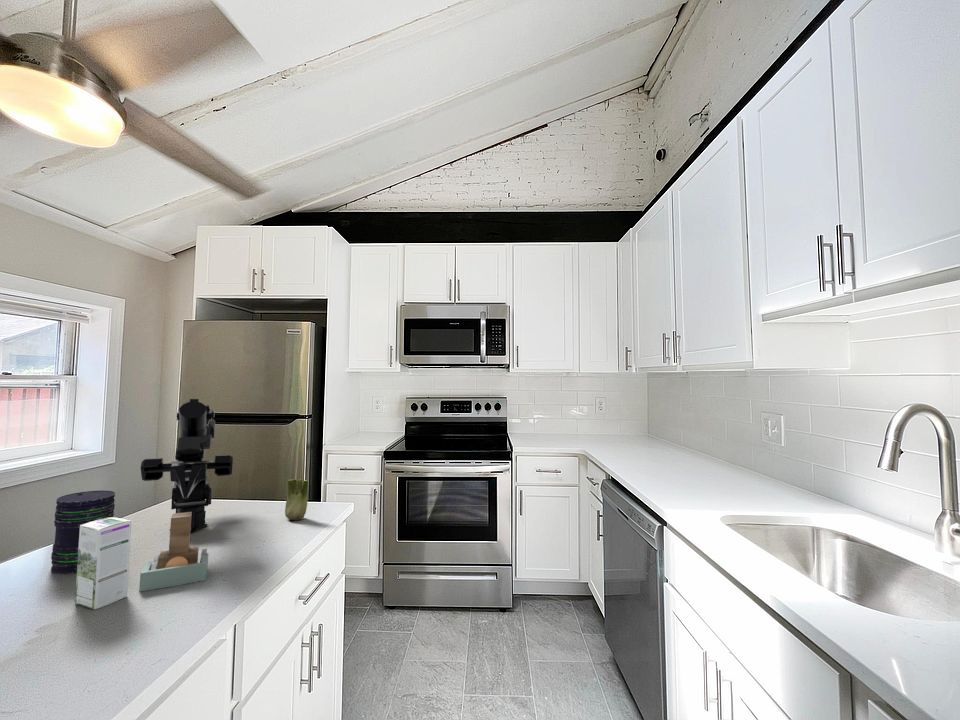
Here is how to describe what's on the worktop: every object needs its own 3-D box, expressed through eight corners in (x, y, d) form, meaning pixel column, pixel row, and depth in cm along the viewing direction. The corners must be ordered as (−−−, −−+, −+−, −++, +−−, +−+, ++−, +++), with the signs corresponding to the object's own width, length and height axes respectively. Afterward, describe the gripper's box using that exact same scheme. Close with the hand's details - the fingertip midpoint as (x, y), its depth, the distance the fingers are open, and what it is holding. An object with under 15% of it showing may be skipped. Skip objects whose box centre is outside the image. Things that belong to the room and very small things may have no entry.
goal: (144, 578, 90) (145, 561, 90) (207, 568, 95) (208, 552, 96) (139, 591, 84) (140, 573, 85) (205, 580, 90) (206, 563, 90)
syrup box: (128, 596, 83) (134, 519, 83) (92, 611, 77) (98, 528, 78) (109, 590, 85) (114, 515, 85) (72, 605, 79) (78, 524, 80)
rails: (155, 560, 99) (155, 555, 99) (206, 552, 104) (207, 548, 104) (148, 575, 92) (149, 570, 92) (204, 566, 96) (205, 561, 97)
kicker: (159, 565, 95) (163, 514, 96) (197, 559, 98) (201, 510, 99) (157, 572, 91) (160, 519, 92) (196, 566, 95) (199, 515, 96)
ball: (161, 563, 92) (158, 578, 88) (176, 549, 92) (173, 563, 89) (179, 569, 94) (177, 584, 91) (193, 556, 94) (191, 570, 91)
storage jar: (120, 561, 98) (125, 494, 99) (64, 578, 89) (69, 504, 90) (96, 552, 102) (101, 488, 103) (40, 568, 93) (46, 497, 94)
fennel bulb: (308, 518, 131) (310, 478, 132) (295, 523, 127) (297, 481, 127) (294, 515, 134) (296, 476, 134) (281, 520, 129) (283, 479, 130)
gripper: (144, 424, 103) (132, 481, 93) (234, 423, 112) (232, 474, 102) (148, 452, 109) (136, 509, 99) (233, 449, 119) (230, 500, 108)
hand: (185, 497), depth 102 cm, fingers closed
